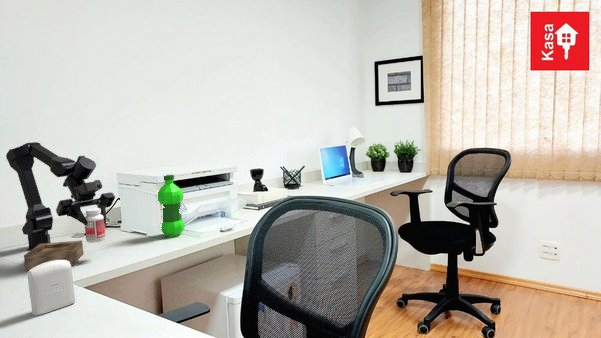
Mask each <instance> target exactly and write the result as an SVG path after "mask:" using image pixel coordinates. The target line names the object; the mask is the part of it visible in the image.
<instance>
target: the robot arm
mask: <svg viewBox="0 0 601 338" xmlns="http://www.w3.org/2000/svg"><path fill="white" fill-rule="evenodd" d="M5 156H6V157H5V158H6V160H7V162H8V164H9V167H10V168H12V170H14V171H15V172H16V173H17V177H18V180H19V182H20V185H21V190H22V192H23V196H24V200H25V202H26V206H27V211H26V213H25V223H24V225H23V226H22V228H21V232H22V234H23V235H27V242H28V248H27V249H26V250H27V251H31V250H32V249H34V248H35V247H36V246H38V245H39V244H43V243H52V242H51V234H50V233H49V231H51V230H53V223H54V218H53V217H54V216H53V214H52V211H51V208H50V207H49V206H45V205H44V203H43V201H42V198H41V195H40V192H39V188H38V185H37V181H36V178H35V175H34V172H33V171H34V170H33V167H34V164H35V159H37V160H38V161H40V162H41V163H43V164H44V165H46V166H48V167H49V171H50V172H51V173H52V174H53V175H54V176H55V177H56V178H64V177H66V178H65V179H64V181H63V183H62V187H63V188H64V187H66V188H67V189H68V191H69V193H70V194H71V195H70V198H68V199H66V198H65V199H60V200H59V202H58V204H57V206H56V209H55V212H56V214H57V216H58V217H64V216H67V217H70V218H73V219H75V220H76V221H78V222H79V223H81V224H83V225H84V226H85V225H87V224H88V223H87V220H86V218H85V217H86V216H85V215H84V213H83V211H82V209H81V208H85V207H90V206H96V208H100V209H101V213H100V214H101V215H103V217H104V222H106V221H107V213H106V212H107V211H106V209H107V208H110V207H111V206H112V205H113V203H114V201H115V198H116V195H114V193H113V192H111V191H110V192H106V193H100V196H99V197H98V198H94V197H96V195H97V194H96V192H99V190H101V189H102V188H103V183H102V182H101V180H100V179H95V180H94V181H90V182H85V180H88V179H89V178H90V177H91V175H92V173H93V172H94V170H95V169H96V167H97V163H96V162H95V160H92V159H91V158H89V157H86V156H85V155H78V157H77V159H76V160H74V159H71V158H68V157H62V156H59V155H57V154H55V153H54V152H53V151H51V150H49V149H48V148H46V147H44V146H43V145H42V144H41V143H40V142H33V141H32V142H26V143H23V144H22V145H20V146H17V147H14V148H10V149H8V152H7V153H6V155H5Z"/></svg>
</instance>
